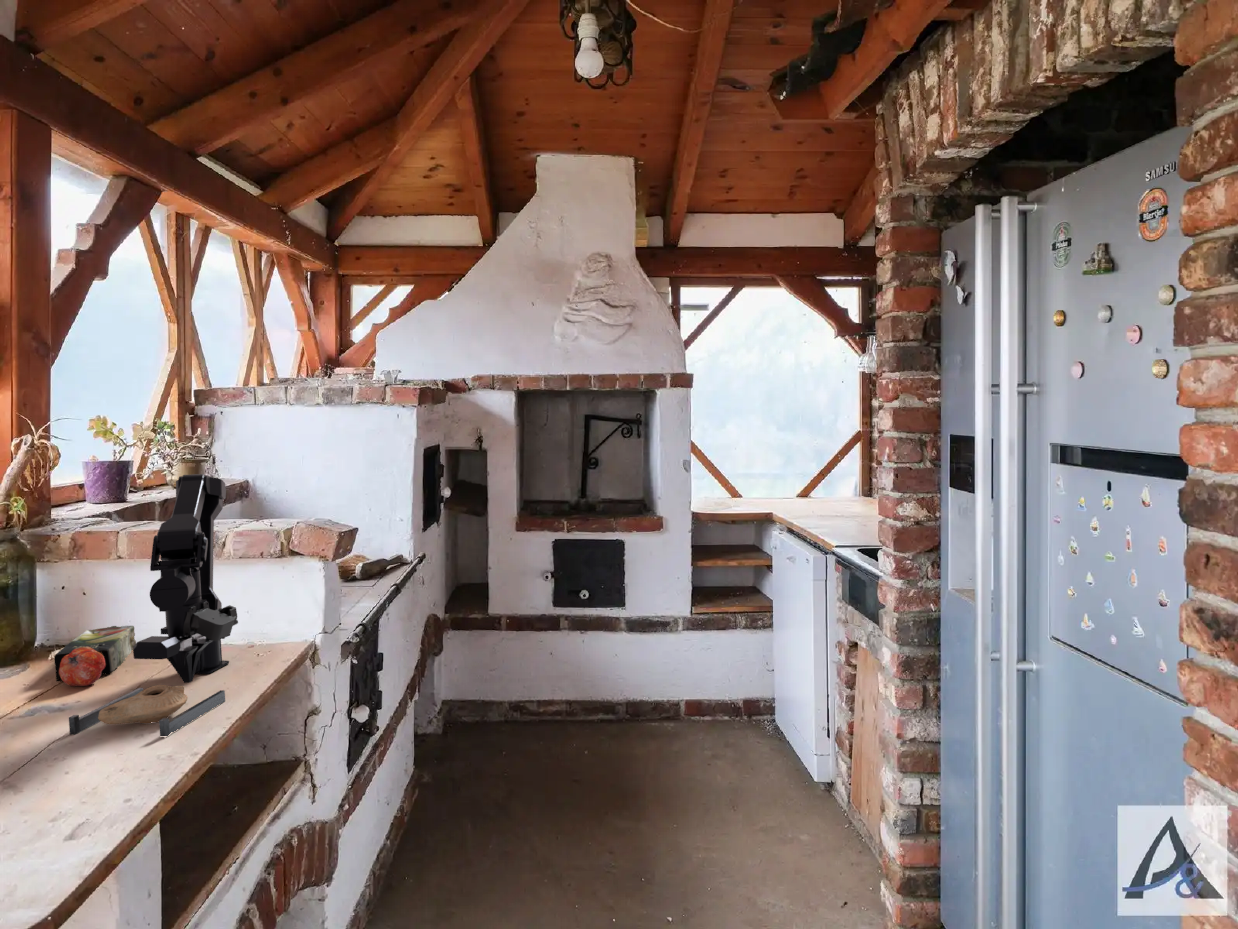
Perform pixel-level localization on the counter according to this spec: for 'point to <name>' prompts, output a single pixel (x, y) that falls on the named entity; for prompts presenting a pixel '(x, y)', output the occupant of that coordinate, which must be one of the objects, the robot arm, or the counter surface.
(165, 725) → the steel chute
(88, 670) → the red round fruit
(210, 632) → the robot arm
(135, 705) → the pottery oil lamp
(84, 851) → the counter surface
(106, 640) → the juice carton
